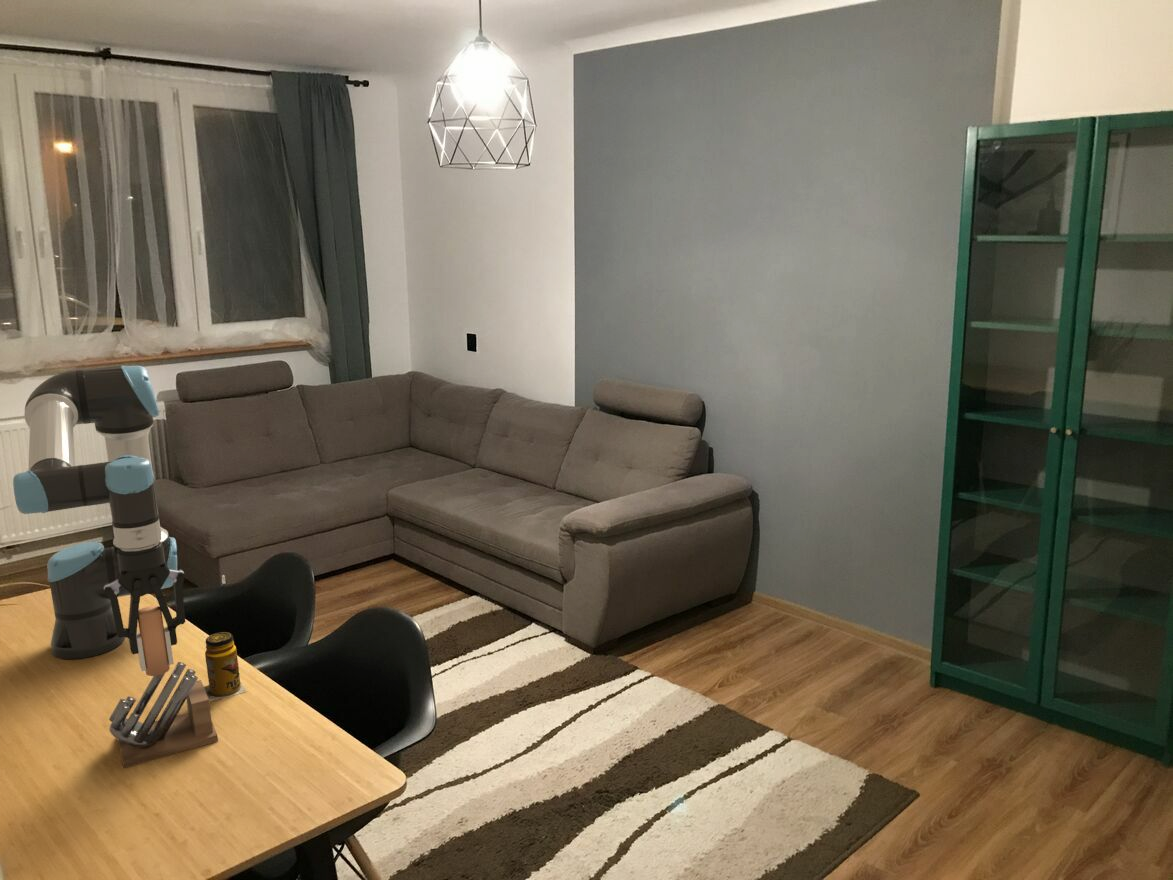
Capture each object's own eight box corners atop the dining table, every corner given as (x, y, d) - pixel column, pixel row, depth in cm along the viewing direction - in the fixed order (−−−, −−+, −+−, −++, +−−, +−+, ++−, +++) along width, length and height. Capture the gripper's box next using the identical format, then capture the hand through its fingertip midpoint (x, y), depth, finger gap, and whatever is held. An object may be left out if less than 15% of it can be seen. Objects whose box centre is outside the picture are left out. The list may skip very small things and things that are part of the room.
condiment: (246, 692, 192) (240, 638, 189) (203, 704, 187) (196, 649, 185) (237, 678, 198) (231, 626, 195) (195, 689, 193) (188, 636, 190)
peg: (144, 669, 172) (135, 609, 169) (168, 663, 174) (159, 604, 171) (147, 678, 169) (138, 616, 166) (170, 672, 171) (162, 611, 168)
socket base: (117, 737, 176) (111, 698, 174) (207, 712, 184) (202, 676, 182) (123, 767, 166) (117, 727, 164) (218, 740, 174) (213, 702, 172)
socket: (110, 740, 175) (99, 670, 171) (199, 717, 182) (190, 648, 179) (115, 767, 166) (103, 693, 163) (208, 740, 174) (199, 669, 170)
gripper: (87, 560, 158) (107, 685, 164) (193, 541, 167) (209, 660, 172) (84, 548, 165) (103, 668, 170) (187, 530, 173) (202, 645, 179)
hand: (156, 664), depth 171 cm, fingers closed on peg, 4 cm apart
